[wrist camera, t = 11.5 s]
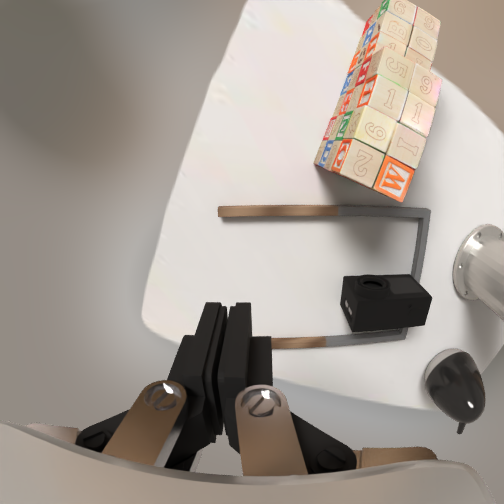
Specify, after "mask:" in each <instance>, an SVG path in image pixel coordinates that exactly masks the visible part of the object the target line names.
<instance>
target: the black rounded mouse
mask: <svg viewBox="0 0 504 504" xmlns="http://www.w3.org/2000/svg"><path fill="white" fill-rule="evenodd" d="M425 389H426V392H427V393H428V395H429V396H430V398H431V399H432V400H433V402H434V403H435V404H436V405H437V406H438V407H439V408H440V409H441V410H442V411H443V412H444V413H445V414H446V415H448V416H449V417H451V418H452V419H454V420H455V421H457V422H459V426H458V430H457V433H458V434H462V432H463V430H464V427H465V425H466V424H467V423H471V422H474V421H475V420H477V419H478V418H479V417H480V416H481V414H482V413H483V411H484V407H485V391H484V386H483V382H482V378H481V375H480V372H479V370H478V368H477V366H476V364H475V362H474V360H473V358H472V357H471V356H470V354H469V353H467V352H464V351H462V350H459V349H447V350H444V351H442V352H441V353H439V354H438V355H436V356H435V357H434V358H433V359H432V361H431V362H430V363H429V365H428V367H427V369H426V372H425Z"/></svg>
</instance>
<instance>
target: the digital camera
mask: <svg viewBox="0 0 504 504" xmlns="http://www.w3.org/2000/svg"><path fill="white" fill-rule="evenodd" d="M431 301H432V296H431V295H430V294H429V293H428V292H427V291H426V290H425V289H424V288H423V287H422V286H421V285H420V284H419V283H418V282H417V281H416V280H415V279H414V278H413V277H412V276H411V275H410V274H402V275H361V276H344V277H343V286H342V294H341V302H340V305H341V307H342V309H343V312H344V314H345V316H346V319H347V321H348V323H349V326H350V328H351V330H352V332H363V331H376V330H388V329H398V328H407V327H415V326H423V325H425V322H426V318H427V315H428V312H429V308H430V304H431Z"/></svg>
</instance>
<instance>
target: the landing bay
mask: <svg viewBox="0 0 504 504" xmlns="http://www.w3.org/2000/svg"><path fill="white" fill-rule="evenodd" d="M336 206H338V207H339V208H338V216H388V217H419V226H418V234H417V241H416V248H415V254H414V260H413V266H412V272H411V276H412V277H413V278H414V279H415V280H416V281H417V282H418V283H419V282H420V277H421V272H422V267H423V261H424V256H425V250H426V243H427V237H428V229H429V221H430V213H431V210H429V209H427V208H409V207H385V206H349V205H336ZM407 331H408V327H407V328H399V330H396V331H387V332H377V333H366V334H354V335H339V336H325V338H326V347H328V346H343V345H355V344H367V343H377V342H386V341H394V340H402V339H405V338H406V334H407Z"/></svg>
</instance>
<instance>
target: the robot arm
mask: <svg viewBox="0 0 504 504" xmlns="http://www.w3.org/2000/svg"><path fill="white" fill-rule="evenodd" d="M453 280H454V285H455V287H456V290H457V291H458V292H459V294H460V295H461V296H462V297H464V298H465V299H468V300H477V299H480V300H481V301H483V302H484V303H485V304H486V305H487V306H488V307H489V308H490V309H491V310H492V311H493V312H495V313H496V314H497V315H498V316H499V317H500V318H501V319H502V320H503V321H504V233H503V231H502V230H501V229H499V228H498V227H496V226H494V225H491V224H485V225H481V226H479V227H477V228H476V229H474V230H473V231H472V232H471V233H470V234H469V235H468V236H467V237H466V239H465V240H464V242H463V243H462V245H461V247H460V249H459V251H458V254H457V256H456V259H455V264H454V270H453ZM272 381H273V378H272V344H271V336H257V337H252V318H251V303H236V306H230V311H229V316H227V307H226V306H222V305H221V302H206V304H205V307H204V309H203V312H202V315H201V318H200V321H199V324H198V327H197V330H196V333H195V335H185V336H184V337H183V339H182V342H181V344H180V347H179V349H178V352H177V355H176V357H175V360H174V363H173V365H172V368H171V370H170V373H169V376H168V379H167V380H161V381H156V382H153V383H151V384H149V385H147V386H146V387H145V388H144V389H143V390H142V391H141V393H140V394H139V396H138V398H137V399H136V401H135V402H134V404H133V405H132V407H131V408H130V409H129V410H127V411H125V412H122V413H120V414H118V415H116V416H113V417H111V418H109V419H106V420H104V421H102V422H100V423H97V424H94V425H92V426H89V427H88V428H86V429H84V430H83V431H80V429H79V428H74V427H64V426H55V425H48V424H41V423H31V424H28V425H26V426H23V425H20V424H16V423H12V422H7V421H2V420H0V504H496V502H495V500H494V498H493V496H492V494H491V492H490V490H489V488H488V487H487V485H486V483H485V482H484V480H483V478H482V477H481V476H480V475H479V473H478V472H477V471H476V470H475V469H473V468H472V467H470V466H469V465H466V464H464V463H460V462H455V461H448V460H447V461H446V460H438V459H437V456H436V454H435V453H434V452H433V451H432V450H430V449H428V448H426V447H402V448H401V447H400V448H362V450H352V449H350V448H349V447H348V446H347V445H345V444H343V443H341V442H340V441H338V440H336V439H334V438H333V437H331V436H329V435H327V434H326V433H324V432H322V431H321V430H319V429H318V428H316V427H314V426H313V425H311V424H309V423H308V422H306V421H304V420H303V419H301V418H300V417H298V416H296V415H295V414H294V413H292V412H290V410H289V406H288V403H287V399H286V397H285V395H284V394H283V393H282V392H281V391H280V390H279V389H277V388H275V387H273V382H272ZM223 424H224V426H225V431H226V435H228V439H229V445H230V446H231V447H232V448H233V449H235V450H236V451H237V452H238V453H239V454H240V456H241V464H242V471H243V476H231V475H216V474H205V473H196V472H195V471H196V469H197V466H198V464H199V461H200V458H201V456H202V448H204V447H206V446H207V445H209V444H210V443H215V441H216V435H222V431H223Z"/></svg>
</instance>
